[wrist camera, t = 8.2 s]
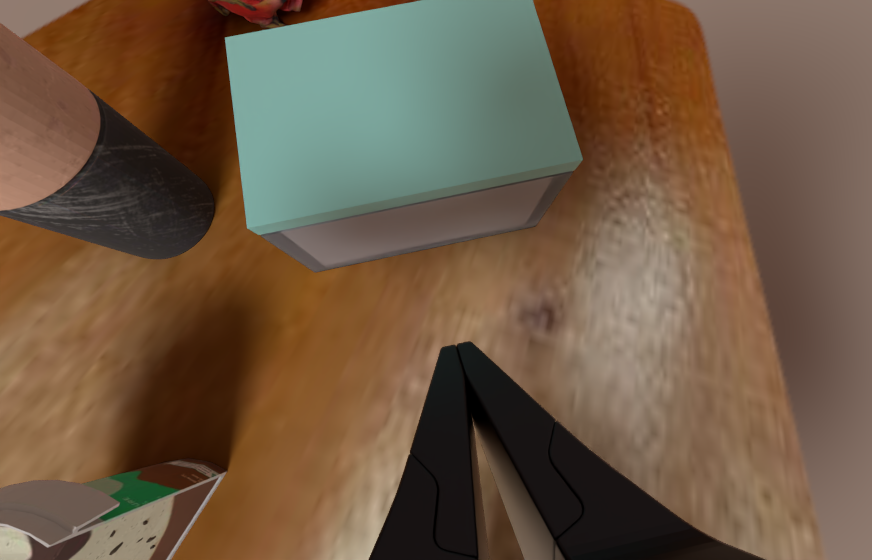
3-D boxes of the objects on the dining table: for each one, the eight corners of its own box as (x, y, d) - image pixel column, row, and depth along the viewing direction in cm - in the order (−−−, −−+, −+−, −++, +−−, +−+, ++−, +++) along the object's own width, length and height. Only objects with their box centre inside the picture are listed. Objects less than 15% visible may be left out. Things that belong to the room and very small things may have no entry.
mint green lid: (574, 170, 16) (583, 159, 16) (258, 234, 16) (247, 228, 15) (521, 0, 18) (526, -20, 17) (236, 54, 18) (224, 37, 17)
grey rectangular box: (535, 226, 23) (573, 172, 17) (315, 272, 23) (261, 236, 16) (500, 110, 26) (520, 21, 19) (299, 150, 25) (246, 74, 19)
